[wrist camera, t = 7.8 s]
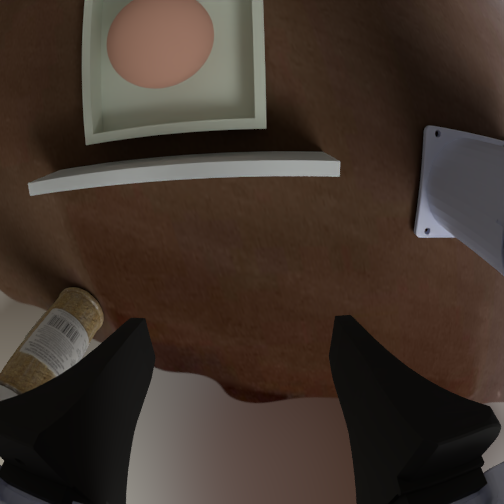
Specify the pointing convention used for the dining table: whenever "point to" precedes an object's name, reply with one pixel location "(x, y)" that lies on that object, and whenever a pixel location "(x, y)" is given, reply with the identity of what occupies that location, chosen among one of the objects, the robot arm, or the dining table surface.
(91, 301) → the spice bottle
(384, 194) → the dining table surface
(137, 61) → the ball
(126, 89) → the tray
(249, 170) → the acrylic wall
